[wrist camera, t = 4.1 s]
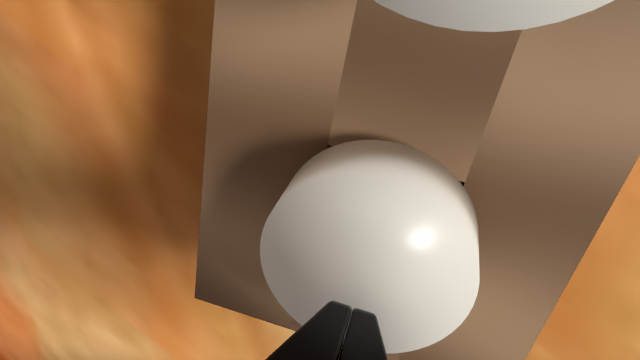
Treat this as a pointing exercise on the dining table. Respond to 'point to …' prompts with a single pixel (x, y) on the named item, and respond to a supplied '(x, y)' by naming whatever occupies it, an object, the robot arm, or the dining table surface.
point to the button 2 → (491, 12)
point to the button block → (424, 141)
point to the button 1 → (376, 241)
